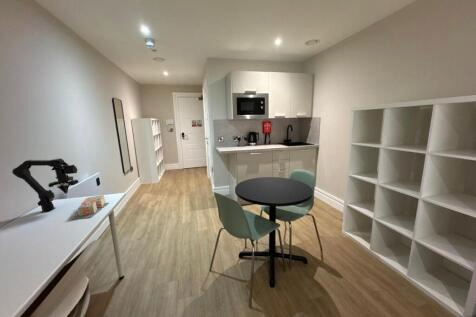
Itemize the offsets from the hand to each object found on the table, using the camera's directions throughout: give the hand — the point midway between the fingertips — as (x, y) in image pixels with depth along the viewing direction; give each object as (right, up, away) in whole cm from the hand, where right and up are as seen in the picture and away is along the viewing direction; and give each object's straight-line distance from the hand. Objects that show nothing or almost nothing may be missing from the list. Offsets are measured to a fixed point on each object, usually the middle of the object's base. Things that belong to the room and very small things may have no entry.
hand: (66, 193), depth 158 cm
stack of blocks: (+18, -9, -7) cm, 21 cm away
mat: (+25, -12, -6) cm, 29 cm away
